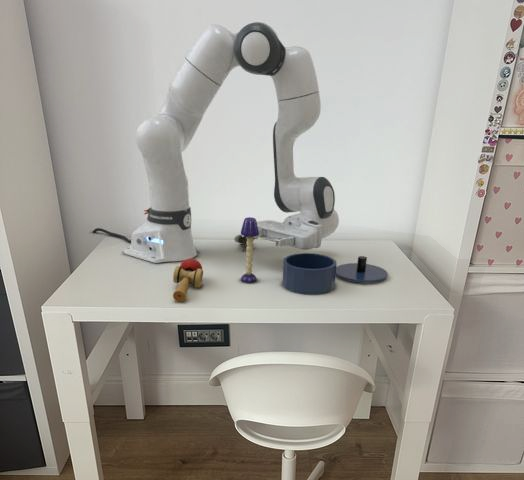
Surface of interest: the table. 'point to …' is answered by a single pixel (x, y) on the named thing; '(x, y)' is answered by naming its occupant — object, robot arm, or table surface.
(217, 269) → the table surface
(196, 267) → the kendama
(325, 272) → the pot
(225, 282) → the table surface
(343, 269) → the lid
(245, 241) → the eagle figurine
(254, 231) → the toy lamp
